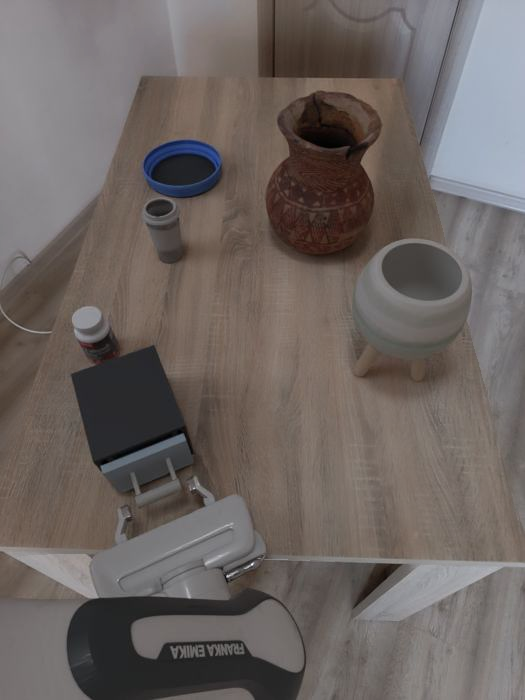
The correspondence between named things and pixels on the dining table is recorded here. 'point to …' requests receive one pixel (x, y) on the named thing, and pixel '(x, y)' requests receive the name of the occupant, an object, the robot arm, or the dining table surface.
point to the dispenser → (126, 404)
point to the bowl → (182, 167)
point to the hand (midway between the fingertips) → (158, 492)
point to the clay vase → (323, 172)
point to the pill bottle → (95, 335)
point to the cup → (164, 227)
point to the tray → (149, 467)
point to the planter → (410, 303)
